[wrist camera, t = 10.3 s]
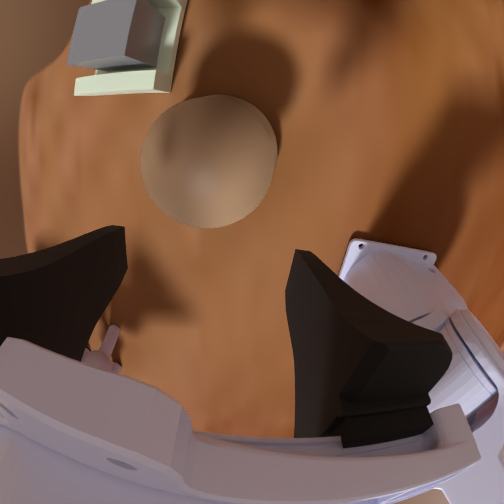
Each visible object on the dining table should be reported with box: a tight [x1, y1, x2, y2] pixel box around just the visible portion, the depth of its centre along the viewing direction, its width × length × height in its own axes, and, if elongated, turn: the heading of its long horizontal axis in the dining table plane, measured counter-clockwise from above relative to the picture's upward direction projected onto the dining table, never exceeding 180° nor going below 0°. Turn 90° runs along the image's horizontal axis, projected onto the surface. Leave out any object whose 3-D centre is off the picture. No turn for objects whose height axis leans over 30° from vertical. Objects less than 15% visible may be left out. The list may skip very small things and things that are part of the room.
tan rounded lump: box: [140, 95, 277, 228], centre depth 16 cm, size 8×8×6 cm
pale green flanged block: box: [74, 0, 187, 96], centre depth 13 cm, size 6×8×4 cm
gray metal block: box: [67, 0, 165, 71], centre depth 11 cm, size 4×4×5 cm
